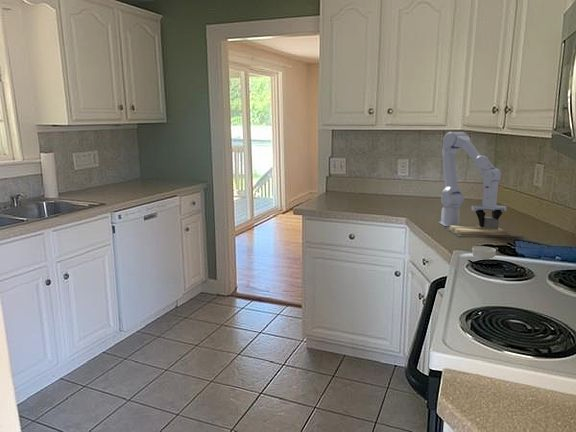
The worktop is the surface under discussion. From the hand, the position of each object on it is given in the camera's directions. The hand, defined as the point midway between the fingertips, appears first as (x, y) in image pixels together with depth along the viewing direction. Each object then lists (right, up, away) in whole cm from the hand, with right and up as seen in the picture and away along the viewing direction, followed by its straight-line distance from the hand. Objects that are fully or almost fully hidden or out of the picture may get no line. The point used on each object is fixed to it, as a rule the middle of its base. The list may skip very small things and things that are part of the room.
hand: (487, 226), depth 193 cm
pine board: (-4, -3, +1) cm, 5 cm away
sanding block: (0, -1, -1) cm, 1 cm away
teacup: (-22, -11, -45) cm, 51 cm away
